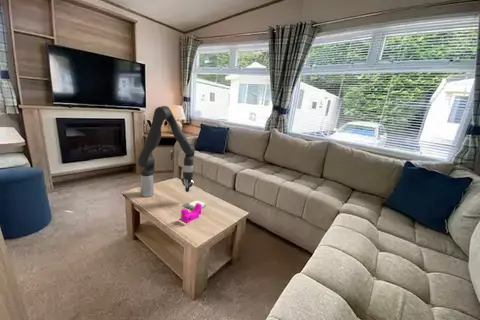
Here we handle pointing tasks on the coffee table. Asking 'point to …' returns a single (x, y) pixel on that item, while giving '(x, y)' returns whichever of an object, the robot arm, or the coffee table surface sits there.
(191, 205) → the tile
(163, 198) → the coffee table surface
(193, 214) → the magenta pipe clamp half
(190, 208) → the mat
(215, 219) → the coffee table surface
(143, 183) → the robot arm
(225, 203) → the coffee table surface
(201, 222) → the coffee table surface
